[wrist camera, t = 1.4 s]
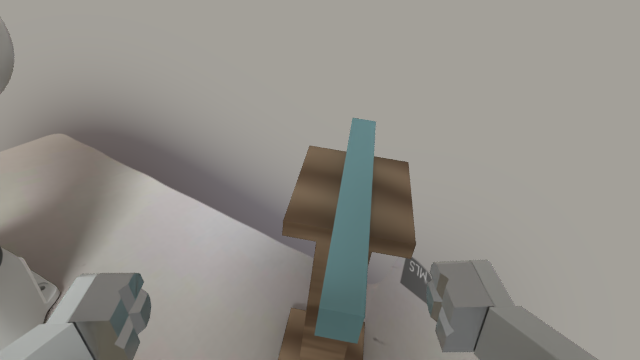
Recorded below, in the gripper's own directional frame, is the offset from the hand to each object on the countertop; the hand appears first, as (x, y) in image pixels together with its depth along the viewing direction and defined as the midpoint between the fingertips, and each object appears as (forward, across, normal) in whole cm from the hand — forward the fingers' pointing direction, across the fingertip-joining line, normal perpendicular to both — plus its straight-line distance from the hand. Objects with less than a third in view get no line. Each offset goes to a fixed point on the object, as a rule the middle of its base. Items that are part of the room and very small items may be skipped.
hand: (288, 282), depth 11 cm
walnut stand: (+21, -1, +36) cm, 42 cm away
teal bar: (+17, -4, +10) cm, 21 cm away
